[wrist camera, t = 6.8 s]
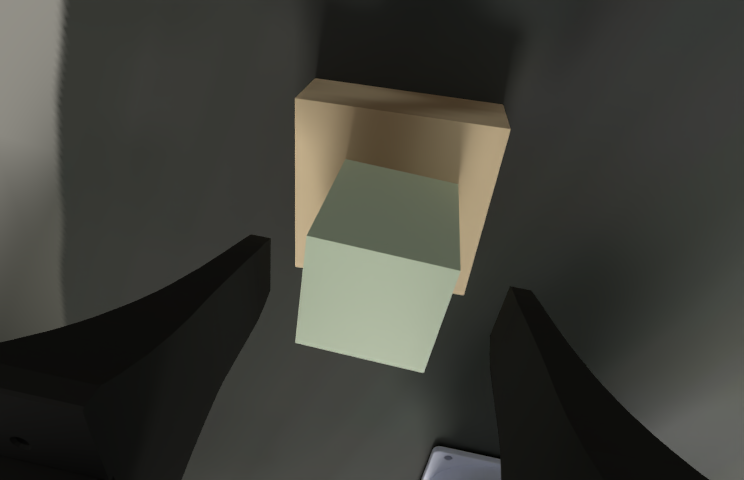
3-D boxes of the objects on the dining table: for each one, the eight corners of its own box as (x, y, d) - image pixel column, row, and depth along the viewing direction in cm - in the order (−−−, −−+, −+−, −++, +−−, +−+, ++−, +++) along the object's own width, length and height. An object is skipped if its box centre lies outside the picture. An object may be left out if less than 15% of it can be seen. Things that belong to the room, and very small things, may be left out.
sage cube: (458, 184, 15) (460, 270, 11) (430, 273, 18) (423, 373, 13) (345, 158, 15) (306, 235, 11) (332, 250, 18) (295, 342, 14)
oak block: (501, 101, 17) (510, 129, 14) (462, 253, 20) (463, 295, 18) (317, 75, 17) (295, 98, 15) (313, 228, 21) (295, 266, 18)
